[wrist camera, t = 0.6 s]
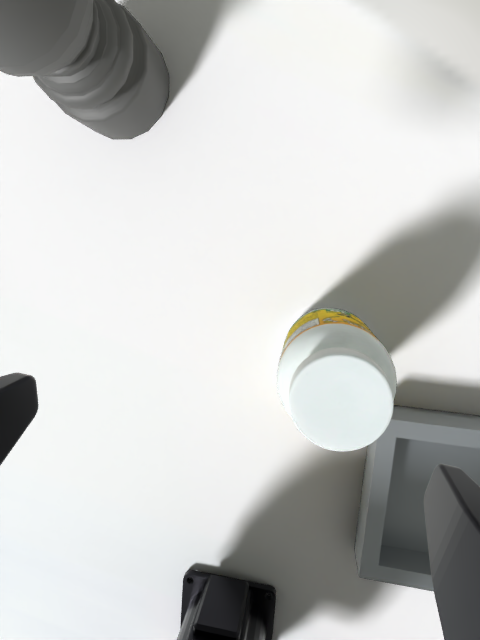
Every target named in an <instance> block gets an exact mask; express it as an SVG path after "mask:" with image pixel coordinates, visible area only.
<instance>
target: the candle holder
mask: <svg viewBox="0 0 480 640" xmlns="http://www.w3.org/2000/svg"><path fill="white" fill-rule="evenodd" d="M0 71H1V72H4V73H6V74H9V75H13V76H33V77H34V80H35V82H36V83H37V84H38V85H39V86H40V88H41V89H42V90H43V91H44V92H45V93H46V94H47V95H48V96H49V98H50V99H51V100H53V101H55V102H56V103H57V105H58V106H59V107H60V108H61V109H62V110H63V111H64V112H65V113H66V114H67V115H69V116H71V117H72V118H74V119H76V120H77V121H79V122H81V123H82V124H84V125H86V126H87V127H89V128H91V129H92V130H94V131H96V132H98V133H100V134H102V135H104V136H106V137H109V138H111V139H132V138H134V137H136V136H138V135H141V134H143V133H145V132H147V131H148V130H149V129H150V128H151V127H152V126H153V125H154V124H155V122H156V121H157V120H158V119H159V118H160V117H161V115H162V113H163V110H164V107H165V105H166V102H167V99H168V97H169V73H168V70H167V68H166V65H165V62H164V59H163V56H162V54H161V53H160V51H159V50H158V49H157V47H156V46H155V44H154V43H153V42H152V40H151V39H150V38H149V36H148V35H147V33H146V32H145V31H144V29H143V28H142V26H141V25H140V24H139V23H138V22H137V20H136V19H135V18H134V17H133V16H132V15H131V14H130V13H129V12H128V10H127V9H126V8H125V7H124V6H122V5H120V4H117V3H116V1H115V0H0Z"/></svg>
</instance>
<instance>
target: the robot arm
mask: <svg viewBox="0 0 480 640" xmlns="http://www.w3.org/2000/svg"><path fill="white" fill-rule="evenodd" d="M37 410H38V397H37V387H36V380H35V378H34V377H33V376H31V375H26V374H22V373H12V374H9V375H5V376H1V377H0V465H1V464H2V462H3V461H4V460H5V458H6V457H7V455H8V454H9V452H10V451H11V450H12V448H13V447H14V445H15V444H16V442H17V441H18V440H19V438H20V437H21V435H22V434H23V433H24V431H25V430H26V428H27V427H28V425H29V424H30V423H31V421H32V420H33V418H34V417H35V415H36V413H37ZM424 513H425V522H426V532H427V541H428V550H429V560H430V569H431V577H432V583H433V588H434V594H435V598H436V603H437V607H438V612H439V617H440V621H441V626H442V630H443V635H444V640H480V486H479V485H478V484H477V483H476V482H475V481H473V480H472V479H471V478H470V477H469V476H468V475H467V474H466V473H465V472H464V471H463V470H462V469H460V468H458V467H455V466H450V465H445V464H438V465H437V466H436V467H435V468H434V471H433V473H432V476H431V479H430V481H429V484H428V486H427V489H426V492H425V495H424ZM189 577H191V578H192V579H193V580H191V579H190V578H189ZM266 593H269V594H271V595H267V594H266ZM275 602H276V590H275V588H274V587H272V586H270V585H265V584H260V583H255V582H250V581H245V580H240V579H235V578H230V577H225V576H219V575H214V574H209V573H204V572H199V571H194V570H188V571H187V572H186V573H185V575H184V578H183V592H182V611H181V629H180V632H179V635H178V638H177V640H272V633H273V623H274V613H275Z"/></svg>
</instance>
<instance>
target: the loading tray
mask: <svg viewBox="0 0 480 640" xmlns="http://www.w3.org/2000/svg"><path fill="white" fill-rule="evenodd" d="M438 464H445V465H450V466H455V467H458V468H460V469H462V470H463V471H464V472H465V473H466V474H467V475H468V476H469V477H470V478H471V479H472V480H473V481H475V482H476V483H477V484H478V485H479V486H480V416H478V415H470V414H462V413H454V412H446V411H438V410H429V409H421V408H413V407H405V406H397V405H394V408H393V414H392V418H391V420H390V423H389V425H388V426H387V428H386V430H385V431H384V433H383V434H382V435H381V436H380V437H379V438H378V439H377V440H375V441H374V442H373V443H371V444H369V445H368V446H367V454H366V462H365V470H364V477H363V485H362V493H361V501H360V509H359V517H358V524H357V532H356V540H355V548H354V549H355V555H356V562H357V568H358V575H359V577H360V578H365V579H370V580H376V581H381V582H386V583H392V584H397V585H402V586H408V587H413V588H418V589H423V590H429V591H434V588H433V583H432V577H431V569H430V560H429V550H428V541H427V532H426V522H425V513H424V495H425V492H426V489H427V486H428V484H429V481H430V479H431V476H432V473H433V471H434V468H435V467H436V466H437V465H438Z"/></svg>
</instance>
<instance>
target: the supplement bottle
mask: <svg viewBox="0 0 480 640" xmlns="http://www.w3.org/2000/svg"><path fill="white" fill-rule="evenodd" d="M396 385H397V379H396V372H395V367H394V364H393V361H392V359H391V357H390V355H389V353H388V352H387V350H386V349H385V347H384V345H383V344H382V343H381V342H380V341H379V340H378V339H377V338H376V337H375V336H374V334H373V333H372V332H371V331H370V329H368V327H367V326H366V325H365V324H364V323H363V322H362V321H361V320H360V319H359V318H358V317H356V316H355V315H353V314H351V313H349V312H347V311H344V310H340V309H333V308H320V309H316V310H313V311H310V312H308V313H306V314H304V315H303V316H301V317H300V318H299V319H298V320H297V321H296V322H295V323H294V324H293V326H292V327H291V328H290V330H289V332H288V334H287V336H286V339H285V342H284V346H283V350H282V354H281V357H280V361H279V365H278V370H277V389H278V394H279V397H280V400H281V402H282V404H283V406H284V408H285V410H286V411H287V413H288V414H289V415H290V416H291V418H292V419H293V421H294V423H295V425H296V427H297V428H298V430H299V431H300V432H301V433H302V434H303V435H304V436H305V437H306V438H307V439H308V440H309V441H311V442H312V443H314V444H316V445H317V446H320V447H322V448H325V449H328V450H333V451H353V450H357V449H361V448H363V447H366V446H368V445H369V444H371V443H373V442H374V441H375V440H377V439H378V438H379V437H380V436H381V435H382V434H383V433H384V431H385V430H386V428H387V426H388V425H389V423H390V420H391V418H392V414H393V408H394V398H395V394H396Z"/></svg>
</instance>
